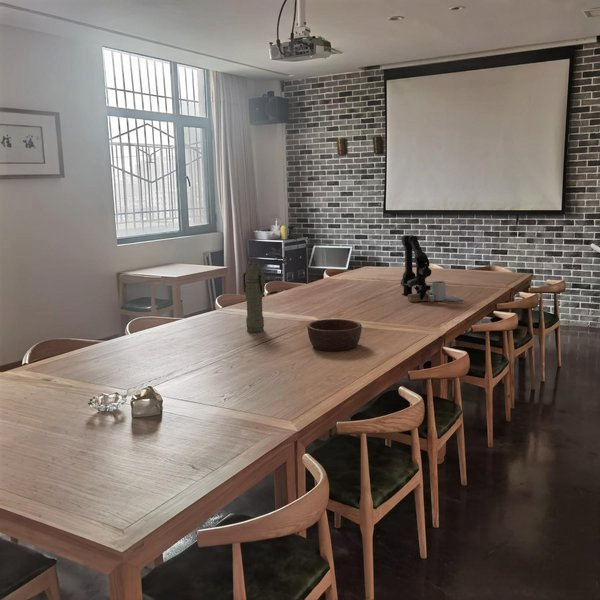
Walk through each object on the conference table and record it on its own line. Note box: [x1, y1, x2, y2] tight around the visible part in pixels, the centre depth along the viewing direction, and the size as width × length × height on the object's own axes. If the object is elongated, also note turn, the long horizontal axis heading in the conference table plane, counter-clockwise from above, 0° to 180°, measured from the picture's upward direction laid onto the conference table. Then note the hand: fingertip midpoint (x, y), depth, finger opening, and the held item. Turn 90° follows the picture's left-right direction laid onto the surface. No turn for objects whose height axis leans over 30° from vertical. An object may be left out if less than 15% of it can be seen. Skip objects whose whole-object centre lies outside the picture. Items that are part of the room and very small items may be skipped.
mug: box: [426, 280, 447, 302], centre depth 391 cm, size 12×8×11 cm
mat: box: [441, 295, 464, 303], centre depth 393 cm, size 15×14×1 cm
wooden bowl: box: [307, 318, 363, 352], centre depth 286 cm, size 25×25×10 cm
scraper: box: [407, 292, 435, 303], centre depth 389 cm, size 11×14×4 cm
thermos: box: [242, 262, 266, 334], centre depth 316 cm, size 9×12×35 cm
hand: (420, 299), depth 390 cm, fingers closed on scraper, 4 cm apart
